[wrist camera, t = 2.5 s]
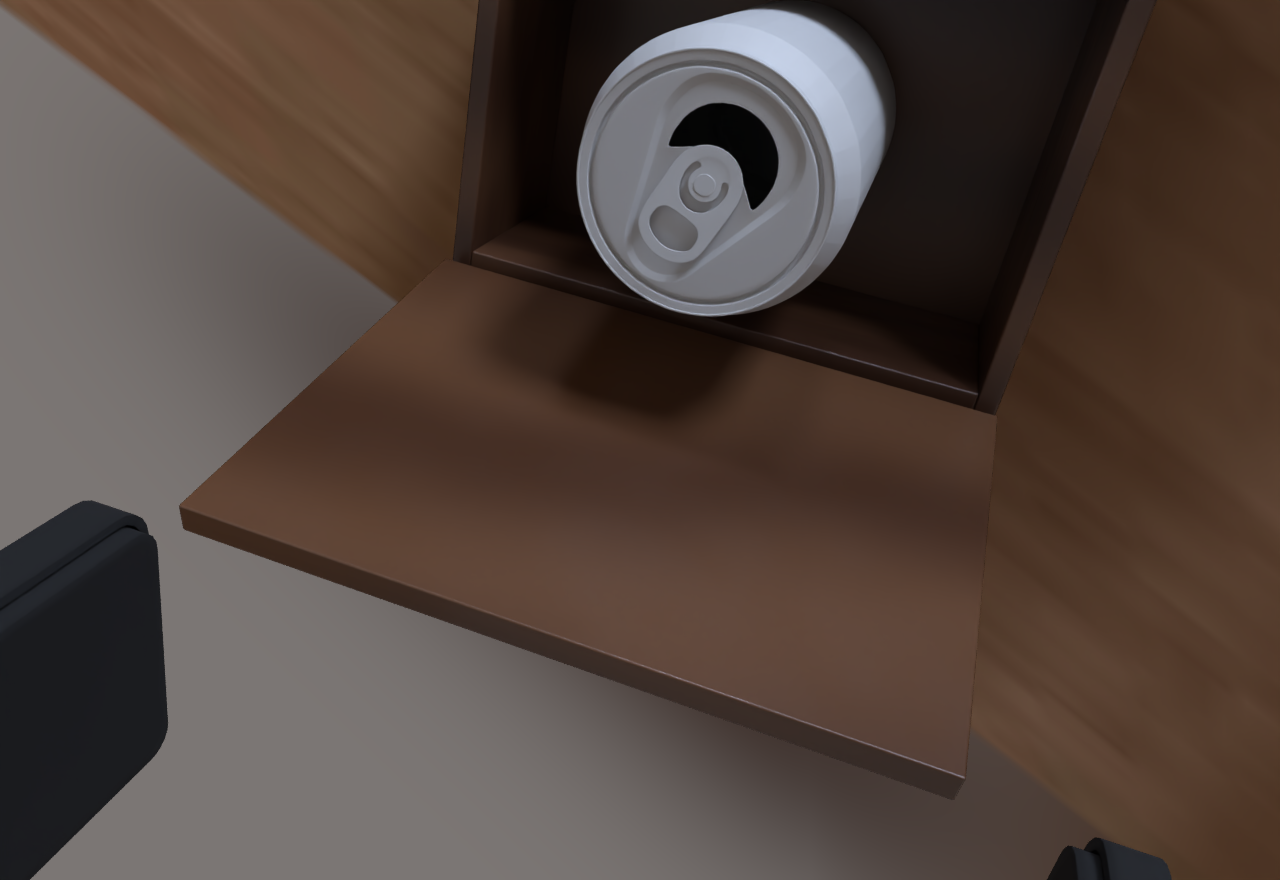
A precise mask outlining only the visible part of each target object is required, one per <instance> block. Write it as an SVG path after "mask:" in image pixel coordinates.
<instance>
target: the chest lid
mask: <svg viewBox="0 0 1280 880" xmlns="http://www.w3.org/2000/svg"><path fill="white" fill-rule="evenodd" d="M996 429H997V416H994V415H991V414H987V413H984V412H980V411H977V410H973V409H970V408H966V407H963V406H959V405H956V404H952V403H949V402H945V401H942V400H938V399H935V398H931V397H928V396H924V395H921V394H917V393H914V392H910V391H907V390H903V389H900V388H896V387H893V386H889V385H886V384H882V383H879V382H875V381H872V380H868V379H865V378H861V377H858V376H854V375H851V374H847V373H844V372H840V371H837V370H833V369H830V368H826V367H823V366H819V365H816V364H812V363H809V362H805V361H802V360H798V359H795V358H791V357H788V356H784V355H781V354H777V353H774V352H770V351H767V350H763V349H760V348H756V347H753V346H749V345H746V344H742V343H739V342H735V341H732V340H728V339H725V338H721V337H718V336H714V335H711V334H707V333H704V332H700V331H697V330H693V329H690V328H686V327H683V326H679V325H676V324H672V323H669V322H665V321H662V320H658V319H655V318H651V317H648V316H644V315H641V314H637V313H634V312H631V311H627V310H624V309H620V308H617V307H613V306H610V305H606V304H603V303H599V302H596V301H592V300H589V299H585V298H582V297H578V296H575V295H571V294H568V293H564V292H561V291H557V290H554V289H550V288H547V287H543V286H540V285H536V284H533V283H529V282H526V281H522V280H519V279H515V278H512V277H508V276H505V275H501V274H498V273H494V272H491V271H487V270H484V269H480V268H477V267H473V266H470V265H466V264H463V263H459V262H456V261H452V260H449V259H445V260H444V261H443V262H442V263H441V264H440V265H438V266H437V267H436V268H435V269H434V270H433V271H432V272H431V273H430V274H429V275H428V276H427V277H426V278H424V279H423V280H422V281H421V282H420V283H419V284H418V285H417V286H416V287H415V288H414V289H413V290H411V291H410V292H409V293H408V294H407V295H406V296H405V297H404V298H403V299H402V300H401V301H400V302H398V303H397V304H396V305H395V306H394V307H393V308H392V309H391V310H390V311H389V312H388V313H387V314H385V316H383V317H382V318H381V319H380V320H379V321H378V322H377V323H376V324H375V325H374V326H373V327H371V328H370V329H369V330H368V331H367V332H366V333H365V334H364V335H363V336H362V337H361V338H360V339H358V340H357V341H356V342H355V343H354V344H353V345H352V346H351V347H350V348H349V349H348V350H347V351H345V353H343V354H342V355H341V356H340V357H339V358H338V359H337V360H336V361H335V362H334V363H332V365H330V366H329V367H328V368H327V369H326V370H325V371H324V372H323V373H322V374H321V375H320V376H318V377H317V378H316V379H315V380H314V381H313V382H312V383H311V384H310V385H309V386H308V387H307V388H306V389H305V390H303V391H302V392H301V393H300V394H299V395H298V396H297V397H296V398H295V399H294V400H293V401H292V402H290V403H289V404H288V405H287V406H286V407H285V408H284V409H283V410H282V411H281V412H280V413H279V414H277V415H276V416H275V417H274V418H273V419H272V420H271V421H270V422H269V423H268V424H267V425H265V426H264V427H263V428H262V429H261V430H260V431H259V432H258V433H257V434H256V435H255V436H254V437H252V438H251V439H250V440H249V441H248V442H247V443H246V444H245V445H244V446H243V447H242V448H241V449H240V450H239V451H237V452H236V453H235V454H234V455H233V456H232V457H231V458H230V459H229V460H228V461H227V462H225V463H224V464H223V465H222V466H221V467H220V468H219V469H218V470H217V471H216V472H215V473H214V474H212V475H211V476H210V477H209V478H208V479H207V480H206V481H205V482H204V483H203V484H202V485H201V486H199V487H198V489H196V490H195V491H194V492H193V493H192V494H191V495H190V496H189V497H188V498H186V500H184V501H183V502H182V503H181V504H180V506H179V509H180V514H181V519H182V524H183V528H184V529H185V530H187V531H190V532H193V533H196V534H198V535H201V536H204V537H207V538H210V539H212V540H215V541H218V542H221V543H224V544H227V545H229V546H233V547H235V548H238V549H241V550H244V551H247V552H250V553H253V554H255V555H258V556H261V557H264V558H266V559H269V560H272V561H275V562H278V563H281V564H283V565H286V566H289V567H292V568H295V569H298V570H300V571H304V572H306V573H309V574H312V575H315V576H317V577H320V578H323V579H326V580H329V581H332V582H334V583H338V584H340V585H343V586H346V587H349V588H352V589H355V590H357V591H360V592H363V593H366V594H369V595H371V596H374V597H377V598H380V599H383V600H386V601H388V602H391V603H394V604H397V605H400V606H403V607H405V608H408V609H411V610H414V611H417V612H420V613H423V614H425V615H428V616H431V617H434V618H437V619H440V620H443V621H445V622H448V623H451V624H454V625H457V626H460V627H462V628H465V629H468V630H471V631H474V632H477V633H480V634H482V635H485V636H488V637H491V638H494V639H496V640H499V641H502V642H505V643H508V644H511V645H514V646H516V647H519V648H522V649H525V650H528V651H530V652H533V653H536V654H539V655H542V656H545V657H547V658H550V659H553V660H556V661H559V662H562V663H564V664H567V665H570V666H573V667H576V668H579V669H582V670H584V671H587V672H590V673H593V674H596V675H599V676H601V677H605V678H607V679H610V680H613V681H616V682H619V683H621V684H624V685H627V686H630V687H633V688H636V689H639V690H641V691H644V692H647V693H650V694H653V695H655V696H658V697H661V698H664V699H667V700H670V701H672V702H675V703H678V704H681V705H684V706H687V707H689V708H693V709H695V710H698V711H701V712H704V713H706V714H709V715H712V716H715V717H718V718H721V719H724V720H727V721H729V722H732V723H735V724H738V725H741V726H743V727H746V728H749V729H752V730H755V731H758V732H760V733H763V734H766V735H769V736H772V737H775V738H777V739H780V740H783V741H786V742H789V743H792V744H795V745H797V746H800V747H803V748H806V749H809V750H812V751H814V752H818V753H820V754H823V755H826V756H829V757H831V758H834V759H837V760H840V761H843V762H846V763H848V764H852V765H854V766H857V767H860V768H863V769H866V770H868V771H871V772H874V773H877V774H880V775H883V776H885V777H888V778H891V779H894V780H897V781H900V782H903V783H905V784H908V785H911V786H914V787H917V788H920V789H922V790H925V791H928V792H931V793H934V794H936V795H939V796H942V797H945V798H948V799H951V800H954V799H955V797H956V796H957V794H958V792H959V790H960V788H961V787H962V785H963V783H964V781H965V779H966V769H967V757H968V746H969V735H970V724H971V713H972V701H973V690H974V679H975V667H976V656H977V645H978V633H979V622H980V611H981V599H982V588H983V577H984V565H985V554H986V543H987V531H988V520H989V508H990V497H991V486H992V474H993V463H994V452H995V440H996Z"/></svg>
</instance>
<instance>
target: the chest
mask: <svg viewBox="0 0 1280 880" xmlns="http://www.w3.org/2000/svg"><path fill="white" fill-rule="evenodd" d="M776 1H783V0H479V4H478V14H477V24H476V34H475V44H474V54H473V64H472V74H471V84H470V94H469V104H468V114H467V124H466V134H465V144H464V154H463V164H462V174H461V184H460V194H459V204H458V214H457V224H456V234H455V244H454V254H453V261H456V262H459V263H463V264H466V265H470V266H473V267H477V268H480V269H484V270H487V271H491V272H494V273H498V274H501V275H505V276H508V277H512V278H515V279H519V280H522V281H526V282H529V283H533V284H536V285H540V286H543V287H547V288H550V289H554V290H557V291H561V292H564V293H568V294H571V295H575V296H578V297H582V298H585V299H589V300H592V301H596V302H599V303H603V304H606V305H610V306H613V307H617V308H620V309H624V310H627V311H631V312H634V313H637V314H641V315H644V316H648V317H651V318H655V319H658V320H662V321H665V322H669V323H672V324H676V325H679V326H683V327H686V328H690V329H693V330H697V331H700V332H704V333H707V334H711V335H714V336H718V337H721V338H725V339H728V340H732V341H735V342H739V343H742V344H746V345H749V346H753V347H756V348H760V349H763V350H767V351H770V352H774V353H777V354H781V355H784V356H788V357H791V358H795V359H798V360H802V361H805V362H809V363H812V364H816V365H819V366H823V367H826V368H830V369H833V370H837V371H840V372H844V373H847V374H851V375H854V376H858V377H861V378H865V379H868V380H872V381H875V382H879V383H882V384H886V385H889V386H893V387H896V388H900V389H903V390H907V391H910V392H914V393H917V394H921V395H924V396H928V397H931V398H935V399H938V400H942V401H945V402H949V403H952V404H956V405H959V406H963V407H966V408H970V409H973V410H977V411H980V412H984V413H987V414H991V415H994V416H995V414H996V412H997V409H998V407H999V404H1000V401H1001V399H1002V396H1003V394H1004V391H1005V389H1006V386H1007V383H1008V381H1009V378H1010V376H1011V373H1012V371H1013V368H1014V366H1015V363H1016V360H1017V358H1018V355H1019V353H1020V350H1021V348H1022V345H1023V342H1024V340H1025V337H1026V335H1027V332H1028V330H1029V327H1030V324H1031V322H1032V319H1033V317H1034V314H1035V312H1036V309H1037V306H1038V304H1039V301H1040V299H1041V296H1042V294H1043V291H1044V288H1045V286H1046V283H1047V281H1048V278H1049V276H1050V273H1051V271H1052V268H1053V265H1054V263H1055V260H1056V258H1057V255H1058V253H1059V250H1060V247H1061V245H1062V242H1063V240H1064V237H1065V235H1066V232H1067V229H1068V227H1069V224H1070V222H1071V219H1072V217H1073V214H1074V211H1075V209H1076V206H1077V204H1078V201H1079V199H1080V196H1081V193H1082V191H1083V188H1084V186H1085V183H1086V181H1087V178H1088V176H1089V173H1090V170H1091V168H1092V165H1093V163H1094V160H1095V158H1096V155H1097V152H1098V150H1099V147H1100V145H1101V142H1102V140H1103V137H1104V134H1105V132H1106V129H1107V127H1108V124H1109V122H1110V119H1111V116H1112V114H1113V111H1114V109H1115V106H1116V104H1117V101H1118V98H1119V96H1120V93H1121V91H1122V88H1123V86H1124V83H1125V81H1126V78H1127V75H1128V73H1129V70H1130V68H1131V65H1132V63H1133V60H1134V57H1135V55H1136V52H1137V50H1138V47H1139V45H1140V42H1141V39H1142V37H1143V34H1144V32H1145V29H1146V27H1147V24H1148V21H1149V19H1150V16H1151V14H1152V11H1153V9H1154V6H1155V3H1156V1H1157V0H803V1H810V2H815V3H820V4H823V5H826V6H828V7H831V8H833V9H836V10H838V11H840V12H841V13H843V14H845V15H846V16H848V17H849V18H851V19H852V20H854V21H855V22H856V23H858V24H859V25H860V26H861V27H862V28H863V29H864V30H865V31H866V32H867V33H868V34H869V35H870V36H871V38H872V39H873V40H874V42H875V43H876V44H877V46H878V47H879V49H880V50H881V52H882V54H883V56H884V58H885V61H886V63H887V66H888V68H889V71H890V74H891V77H892V80H893V83H894V88H895V97H896V117H895V127H894V131H893V135H892V139H891V142H890V145H889V148H888V150H887V153H886V155H885V157H884V159H883V161H882V164H881V166H880V168H879V170H878V172H877V174H876V176H875V178H874V180H873V183H872V185H871V187H870V189H869V191H868V193H867V195H866V197H865V199H864V202H863V204H862V206H861V208H860V210H859V212H858V214H857V216H856V218H855V221H854V223H853V225H852V227H851V229H850V231H849V233H848V235H847V237H846V240H845V242H844V244H843V245H842V247H841V249H840V250H839V252H838V253H837V255H836V256H835V258H834V259H833V261H832V262H831V263H830V264H829V266H828V267H827V268H826V269H825V270H824V271H823V272H822V273H821V274H820V275H819V276H818V277H817V278H816V279H815V280H814V281H813V282H812V283H811V284H809V285H808V286H807V287H805V288H804V289H803V290H802V291H800V292H798V293H797V294H795V295H794V296H792V297H790V298H789V299H787V300H785V301H783V302H781V303H779V304H776V305H774V306H771V307H769V308H765V309H762V310H759V311H755V312H750V313H745V314H738V315H726V316H713V317H710V316H695V315H688V314H683V313H679V312H675V311H671V310H668V309H666V308H663V307H661V306H659V305H656V304H654V303H652V302H650V301H648V300H646V299H645V298H643V297H642V296H640V295H639V294H637V293H635V292H634V291H633V290H631V289H630V288H629V287H628V286H626V285H625V284H624V283H623V282H622V281H621V280H620V279H619V278H618V277H617V276H616V275H615V274H614V273H613V272H612V271H611V270H610V268H609V267H608V266H607V265H606V264H605V262H604V261H603V259H602V258H601V257H600V255H599V253H598V252H597V250H596V248H595V247H594V245H593V243H592V241H591V239H590V237H589V235H588V232H587V230H586V227H585V224H584V221H583V218H582V215H581V211H580V207H579V201H578V195H577V184H576V172H577V160H578V154H579V148H580V144H581V140H582V136H583V132H584V128H585V124H586V121H587V118H588V115H589V112H590V110H591V107H592V105H593V103H594V101H595V98H596V97H597V95H598V93H599V91H600V89H601V87H602V86H603V84H604V83H605V82H606V80H607V79H608V78H609V76H610V75H611V73H612V72H613V71H614V70H615V69H616V68H617V67H618V65H619V64H621V63H622V62H623V61H624V60H625V59H626V58H627V57H628V56H629V55H630V54H631V53H632V52H634V51H635V50H636V49H638V48H639V47H641V46H642V45H644V44H646V43H647V42H649V41H650V40H652V39H654V38H656V37H658V36H660V35H663V34H665V33H667V32H670V31H673V30H675V29H678V28H682V27H685V26H689V25H692V24H696V23H699V22H703V21H706V20H710V19H713V18H717V17H721V16H724V15H728V14H731V13H735V12H738V11H742V10H745V9H749V8H752V7H756V6H760V5H763V4H767V3H771V2H776Z"/></svg>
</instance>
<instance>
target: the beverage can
mask: <svg viewBox="0 0 1280 880" xmlns="http://www.w3.org/2000/svg"><path fill="white" fill-rule="evenodd" d="M895 117H896V97H895V88H894V83H893V80H892V77H891V74H890V71H889V68H888V66H887V63H886V61H885V58H884V56H883V54H882V52H881V50H880V49H879V47H878V46H877V44H876V43H875V42H874V40H873V39H872V38H871V36H870V35H869V34H868V33H867V32H866V31H865V30H864V29H863V28H862V27H861V26H860V25H859V24H858V23H856V22H855V21H854V20H852V19H851V18H849V17H848V16H846V15H845V14H843V13H841V12H840V11H838V10H836V9H833V8H831V7H828V6H826V5H823V4H820V3H815V2H810V1H803V0H783V1H776V2H771V3H767V4H763V5H760V6H756V7H752V8H749V9H745V10H742V11H738V12H735V13H731V14H728V15H724V16H721V17H717V18H713V19H710V20H706V21H703V22H699V23H696V24H692V25H689V26H685V27H682V28H678V29H675V30H673V31H670V32H667V33H665V34H663V35H660V36H658V37H656V38H654V39H652V40H650V41H649V42H647V43H646V44H644V45H642V46H641V47H639V48H638V49H636V50H635V51H634V52H632V53H631V54H630V55H629V56H628V57H627V58H626V59H625V60H624V61H623V62H622V63H621V64H619V65H618V67H617V68H616V69H615V70H614V71H613V72H612V73H611V75H610V76H609V78H608V79H607V80H606V82H605V83H604V84H603V86H602V87H601V89H600V91H599V93H598V95H597V97H596V98H595V101H594V103H593V105H592V107H591V110H590V112H589V115H588V118H587V121H586V124H585V128H584V132H583V136H582V140H581V144H580V148H579V154H578V160H577V172H576V184H577V195H578V201H579V207H580V211H581V215H582V218H583V221H584V224H585V227H586V230H587V232H588V235H589V237H590V239H591V241H592V243H593V245H594V247H595V248H596V250H597V252H598V253H599V255H600V257H601V258H602V259H603V261H604V262H605V264H606V265H607V266H608V267H609V268H610V270H611V271H612V272H613V273H614V274H615V275H616V276H617V277H618V278H619V279H620V280H621V281H622V282H623V283H624V284H625V285H626V286H628V287H629V288H630V289H631V290H633V291H634V292H635V293H637V294H639V295H640V296H642V297H643V298H645V299H646V300H648V301H650V302H652V303H654V304H656V305H659V306H661V307H663V308H666V309H668V310H671V311H675V312H679V313H683V314H688V315H695V316H710V317H713V316H726V315H738V314H745V313H750V312H755V311H759V310H762V309H765V308H769V307H771V306H774V305H776V304H779V303H781V302H783V301H785V300H787V299H789V298H790V297H792V296H794V295H795V294H797V293H798V292H800V291H802V290H803V289H804V288H805V287H807V286H808V285H809V284H811V283H812V282H813V281H814V280H815V279H816V278H817V277H818V276H819V275H820V274H821V273H822V272H823V271H824V270H825V269H826V268H827V267H828V266H829V264H830V263H831V262H832V261H833V259H834V258H835V256H836V255H837V253H838V252H839V250H840V249H841V247H842V245H843V244H844V242H845V240H846V237H847V235H848V233H849V231H850V229H851V227H852V225H853V223H854V221H855V218H856V216H857V214H858V212H859V210H860V208H861V206H862V204H863V202H864V199H865V197H866V195H867V193H868V191H869V189H870V187H871V185H872V183H873V180H874V178H875V176H876V174H877V172H878V170H879V168H880V166H881V164H882V161H883V159H884V157H885V155H886V153H887V150H888V148H889V145H890V142H891V139H892V135H893V131H894V127H895Z"/></svg>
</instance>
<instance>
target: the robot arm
mask: <svg viewBox="0 0 1280 880" xmlns="http://www.w3.org/2000/svg"><path fill="white" fill-rule="evenodd" d="M165 683H166V682H165V665H164V648H163V632H162V615H161V599H160V582H159V565H158V549H157V544H156V540H155V539H154V538H153V536H151V535H149V533H148V528H147V525H146V523H145V522H144V520H143V519H142V518H140V517H138V516H136V515H134V514H131V513H128V512H124V511H122V510H119V509H116V508H113V507H110V506H107V505H104V504H101V503H98V502H95V501H82V502H80V503H78V504H75V505H73V506H72V507H70V508H68V509H67V510H65V511H63V512H62V513H60V514H59V515H57V516H55V517H54V518H52V519H50V520H49V521H47V522H46V523H44V524H42V525H41V526H39V527H38V528H36V529H34V530H33V531H31V532H29V533H28V534H26V535H25V536H23V537H21V538H20V539H18V540H17V541H15V542H13V543H12V544H10V545H9V546H7V547H5V548H4V549H2V550H0V880H30V879H31V878H32V877H33V876H34V875H35V874H36V873H37V872H38V871H39V870H40V869H41V868H42V867H43V866H44V865H45V864H46V863H47V862H48V861H49V860H50V859H51V858H52V857H53V856H54V855H55V854H56V853H57V852H58V851H59V850H60V849H61V848H62V847H63V846H64V845H65V844H66V843H67V842H68V841H69V840H70V839H71V838H72V837H73V836H74V835H75V834H77V833H78V832H79V831H80V830H81V829H82V828H83V827H84V826H85V825H86V824H87V823H88V822H89V821H90V820H91V819H92V817H94V816H95V814H97V813H98V812H99V811H100V810H101V809H102V808H103V807H104V806H105V805H106V804H107V803H108V802H109V801H110V800H111V799H112V798H113V797H114V796H115V795H116V794H117V793H118V792H119V791H120V790H121V789H122V788H123V787H124V786H125V785H126V784H127V783H128V782H129V781H130V780H131V779H132V778H133V777H134V776H135V775H136V774H137V773H138V772H139V771H140V770H141V769H142V768H143V767H144V766H145V765H146V764H147V763H148V762H149V761H150V760H151V759H152V758H153V757H154V756H155V755H156V753H157V752H158V750H159V749H160V747H161V745H162V743H163V741H164V739H165V736H166V733H167V728H168V717H167V716H168V715H167V701H166V700H167V698H166V684H165ZM1047 880H1172V879H1171V875H1170V872H1169V869H1168V866H1167V864H1166V863H1165V862H1164V860H1163V859H1161V858H1158V857H1155V856H1152V855H1149V854H1146V853H1143V852H1140V851H1137V850H1134V849H1131V848H1128V847H1125V846H1122V845H1119V844H1116V843H1113V842H1110V841H1107V840H1104V839H1101V838H1094V839H1092V840H1091V841H1089V843H1088V844H1087V846H1086V847H1085V849H1084V850H1082V849H1079V848H1076V847H1073V846H1067V847H1066V848H1064V850H1063V851H1062V853H1061V854H1060V856H1059V858H1058V860H1057V862H1056V864H1055V866H1054V867H1053V869H1052V871H1051V873H1050V875H1049V877H1048V879H1047Z"/></svg>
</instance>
